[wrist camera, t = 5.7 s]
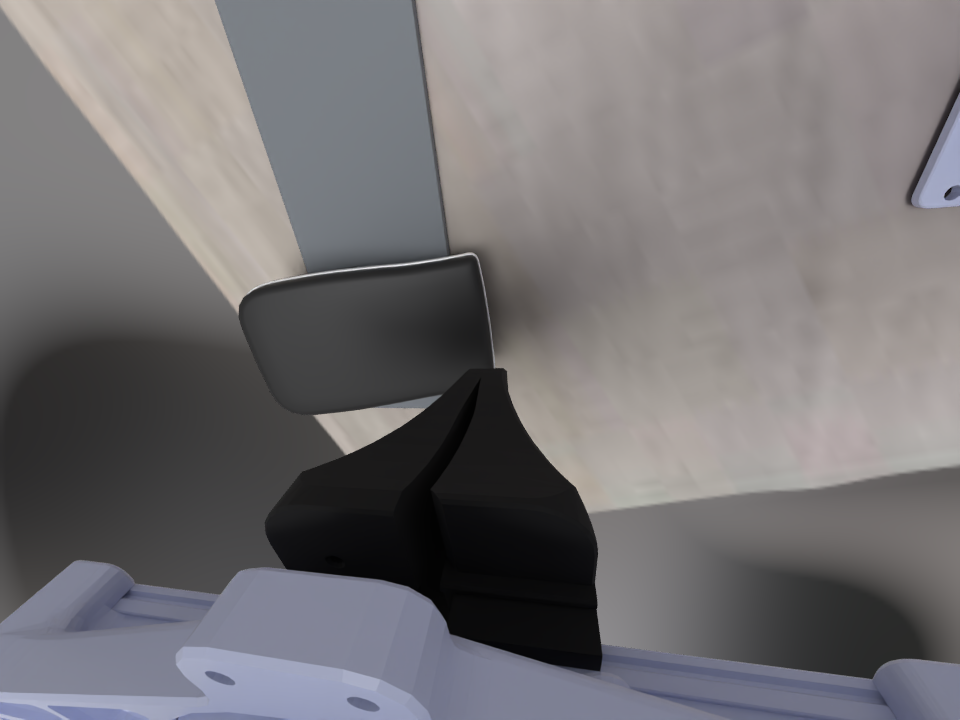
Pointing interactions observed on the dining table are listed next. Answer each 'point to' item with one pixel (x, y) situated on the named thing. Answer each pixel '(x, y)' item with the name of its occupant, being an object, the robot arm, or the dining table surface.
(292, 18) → the mat
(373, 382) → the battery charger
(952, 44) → the dining table surface
